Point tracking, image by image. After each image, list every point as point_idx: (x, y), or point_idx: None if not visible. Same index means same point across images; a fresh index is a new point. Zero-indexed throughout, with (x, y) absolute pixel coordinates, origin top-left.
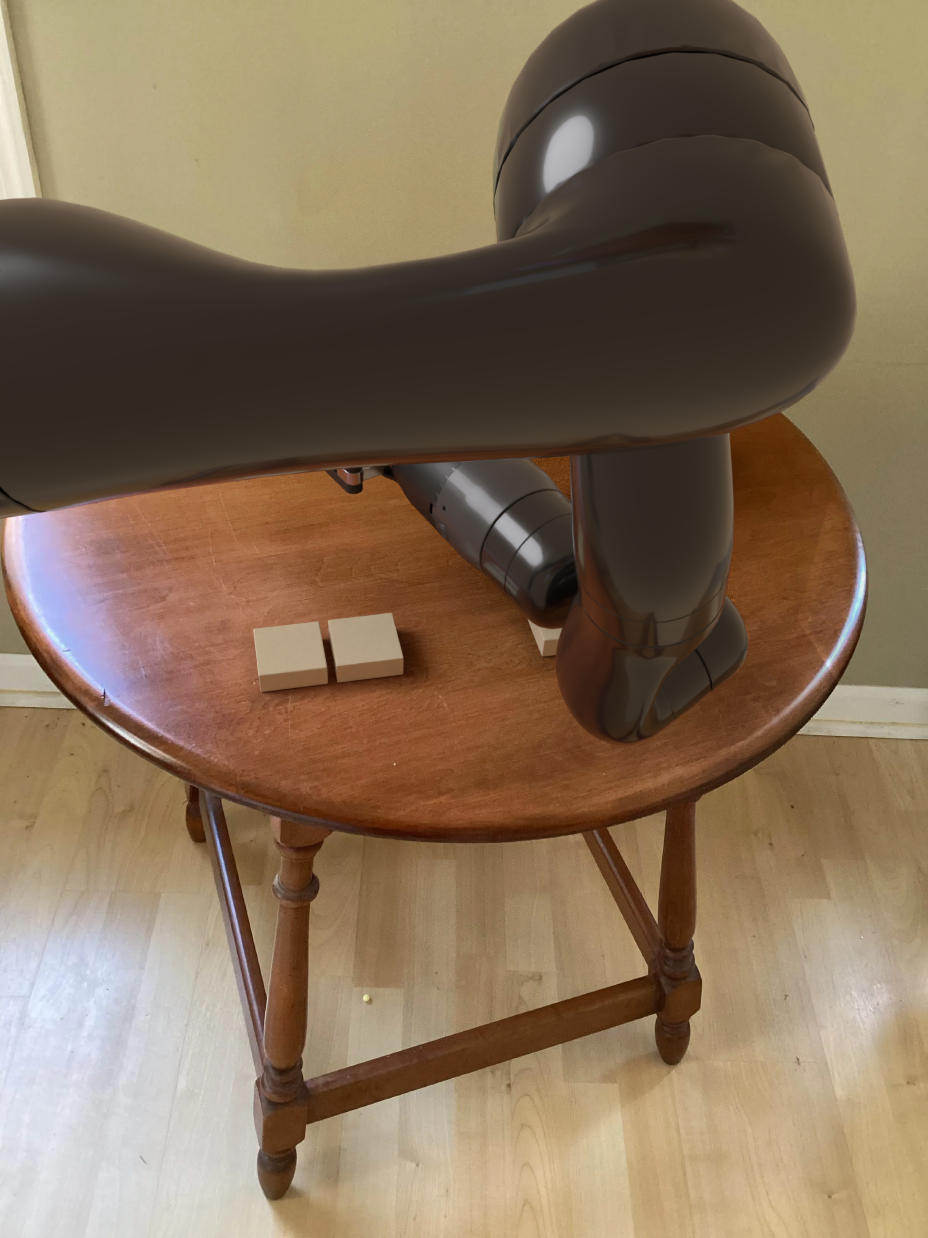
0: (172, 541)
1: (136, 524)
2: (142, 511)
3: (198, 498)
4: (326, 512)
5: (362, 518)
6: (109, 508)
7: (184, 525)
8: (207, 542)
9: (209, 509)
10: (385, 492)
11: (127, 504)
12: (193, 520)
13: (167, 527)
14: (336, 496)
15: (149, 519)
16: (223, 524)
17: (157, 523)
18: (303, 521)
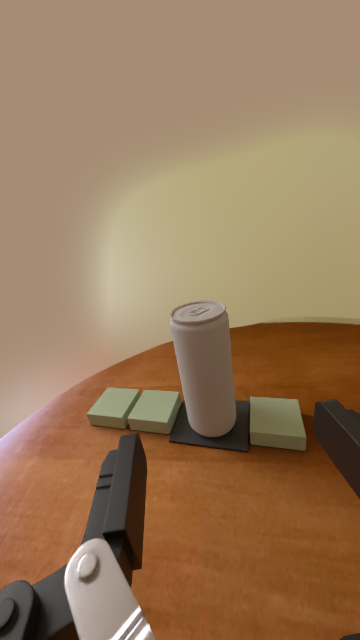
0: (3, 564)
1: (8, 514)
2: (29, 495)
3: (78, 492)
4: (177, 583)
5: (221, 631)
6: (15, 480)
7: (35, 535)
8: None
9: (73, 515)
10: (267, 565)
11: (29, 480)
12: (48, 529)
13: (22, 532)
14: (201, 546)
15: (22, 510)
16: (64, 552)
17: (21, 520)
18: (142, 593)
